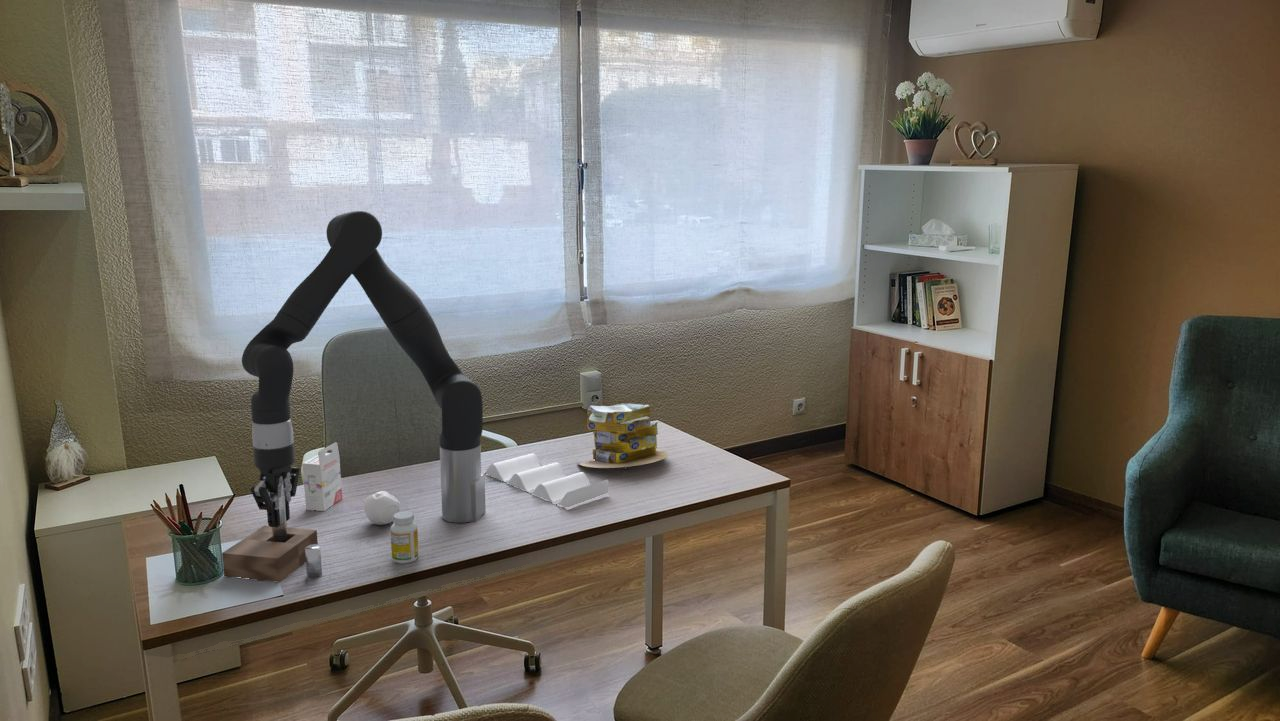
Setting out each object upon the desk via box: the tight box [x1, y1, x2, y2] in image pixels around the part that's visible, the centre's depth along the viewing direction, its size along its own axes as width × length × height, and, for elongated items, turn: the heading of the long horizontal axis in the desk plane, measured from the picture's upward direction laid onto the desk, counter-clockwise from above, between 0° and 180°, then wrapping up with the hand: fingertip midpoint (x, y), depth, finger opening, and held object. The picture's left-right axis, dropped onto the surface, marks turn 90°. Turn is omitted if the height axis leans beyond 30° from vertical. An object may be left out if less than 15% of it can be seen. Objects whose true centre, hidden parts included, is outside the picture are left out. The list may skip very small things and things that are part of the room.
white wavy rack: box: [484, 452, 609, 507], centre depth 223 cm, size 13×35×5 cm, turn 44°
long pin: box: [269, 481, 288, 543], centre depth 177 cm, size 3×3×13 cm
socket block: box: [221, 525, 319, 583], centre depth 176 cm, size 12×14×5 cm
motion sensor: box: [363, 490, 401, 526], centre depth 197 cm, size 8×8×8 cm
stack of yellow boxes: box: [579, 402, 669, 469], centre depth 239 cm, size 25×25×17 cm
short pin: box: [305, 544, 323, 580], centre depth 172 cm, size 3×3×6 cm
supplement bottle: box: [390, 510, 419, 564], centre depth 179 cm, size 5×5×10 cm
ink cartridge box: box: [301, 441, 343, 512], centre depth 207 cm, size 9×5×15 cm, turn 168°
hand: (279, 522), depth 177 cm, fingers closed on long pin, 2 cm apart
